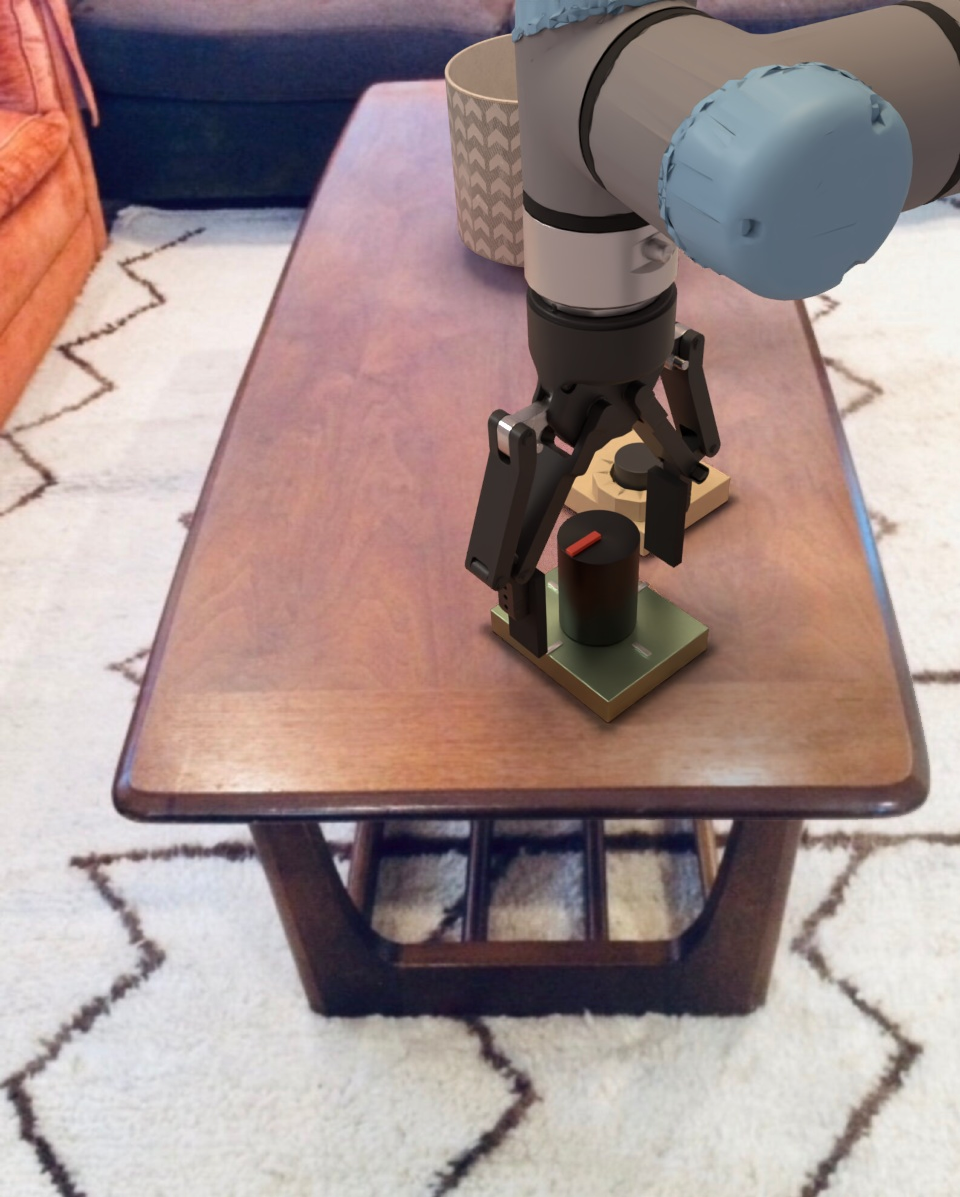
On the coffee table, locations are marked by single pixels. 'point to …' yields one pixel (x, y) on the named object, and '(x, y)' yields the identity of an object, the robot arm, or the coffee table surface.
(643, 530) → the button box
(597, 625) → the knob
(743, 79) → the robot arm
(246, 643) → the coffee table surface
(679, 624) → the dial panel
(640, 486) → the button
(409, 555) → the coffee table surface
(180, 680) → the coffee table surface
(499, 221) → the planter
